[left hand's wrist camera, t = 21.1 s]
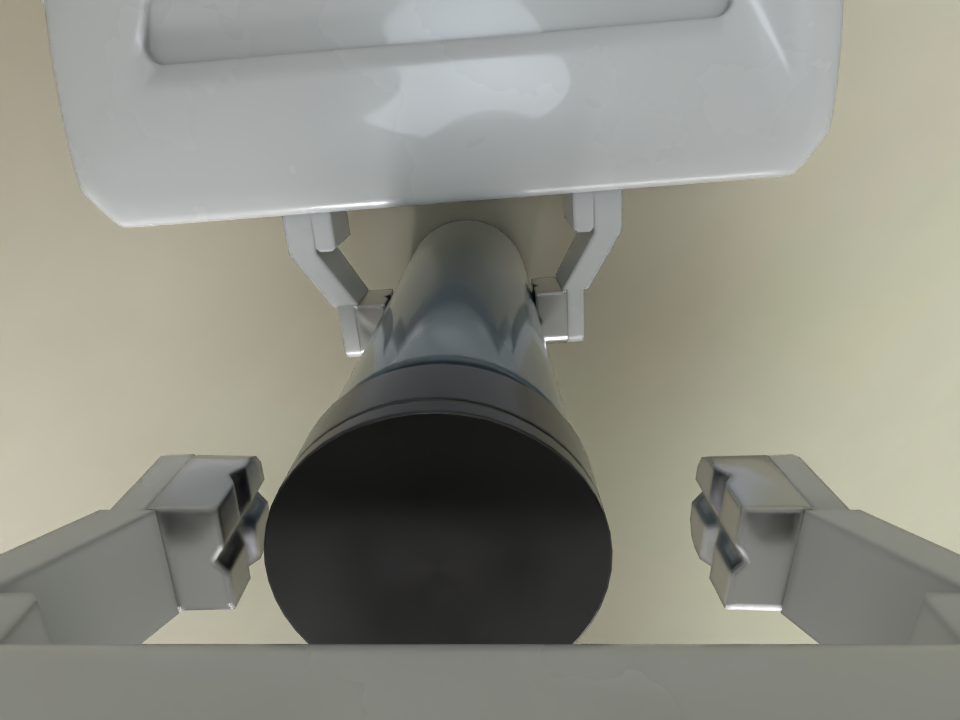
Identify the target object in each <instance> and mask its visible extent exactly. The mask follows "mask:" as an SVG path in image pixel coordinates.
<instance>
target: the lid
mask: <svg viewBox="0 0 960 720" xmlns="http://www.w3.org/2000/svg"><path fill="white" fill-rule="evenodd" d="M612 552H613V551H612V542H611V534H610V530H609V526H608V522H607V519H606V515H605V512H604V509H603V506H602V502H601V499H600V496H599V493H598V489H597V486H596V483H595V480H594V477H593V473H592V470H591V467H590V464H589V460H588V457H587V454H586V452H585V450H584V448H583V446H582V443H581V441H580V439H579V438H578V436H577V434H576V433H575V431H574V430H573V428H572V427H571V425H570V424H569V423H568V421H567V420H566V419H565V418H564V417H563V416H562V415H561V413H560V412H559V411H558V410H557V409H556V408H555V407H554V406H552V405H551V404H550V403H549V402H548V401H547V400H545V399H544V398H543V397H542V396H540V395H539V394H537V393H536V392H534V391H533V390H531V389H530V388H528V387H527V386H525V385H523V384H521V383H519V382H517V381H515V380H513V379H511V378H509V377H506V376H503V375H500V374H498V373H495V372H492V371H489V370H485V369H480V368H475V367H471V366H465V365H453V364H428V365H419V366H412V367H406V368H401V369H398V370H395V371H391V372H388V373H384V374H382V375H379V376H377V377H375V378H372V379H370V380H368V381H366V382H364V383H362V384H360V385H359V386H357V387H355V388H354V389H352V390H350V391H349V392H347V393H346V394H345V395H344V396H342V397H341V398H340V399H339V400H337V401H336V402H335V403H334V404H333V405H332V406H331V407H330V408H329V409H328V410H327V411H326V412H325V413H324V414H323V416H322V417H321V418H320V419H319V421H318V422H317V423H316V425H315V426H314V428H313V429H312V431H311V432H310V434H309V436H308V438H307V439H306V441H305V443H304V445H303V447H302V449H301V450H300V452H299V454H298V456H297V458H296V459H295V461H294V463H293V465H292V467H291V468H290V470H289V472H288V474H287V476H286V478H285V479H284V481H283V483H282V485H281V487H280V488H279V490H278V493H277V495H276V497H275V499H274V501H273V503H272V505H271V508H270V512H269V515H268V519H267V522H266V527H265V536H264V560H265V567H266V572H267V576H268V581H269V584H270V587H271V589H272V592H273V595H274V597H275V600H276V601H277V603H278V605H279V607H280V609H281V610H282V612H283V614H284V616H285V617H286V618H287V620H288V621H289V622H290V624H291V625H292V626H293V628H294V629H295V630H296V632H297V633H298V634H299V635H300V636H301V637H302V638H303V639H304V640H305V641H306V642H307V643H308V644H574V643H575V642H576V641H577V640H578V639H579V638H580V637H581V636H582V634H583V633H584V632H585V631H586V629H587V628H588V627H589V625H590V624H591V623H592V621H593V619H594V618H595V616H596V614H597V612H598V611H599V609H600V607H601V605H602V602H603V599H604V597H605V594H606V592H607V589H608V585H609V580H610V575H611V571H612Z"/></svg>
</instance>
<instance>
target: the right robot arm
mask: <svg viewBox="0 0 960 720" xmlns="http://www.w3.org/2000/svg"><path fill="white" fill-rule="evenodd" d="M41 1H42V3H43V5H44V7H45V15H46V23H47V30H48V38H49V46H50V53H51V59H52V66H53V72H54V78H55V84H56V89H57V94H58V100H59V105H60V110H61V115H62V120H63V125H64V129H65V134H66V139H67V143H68V147H69V151H70V155H71V160H72V164H73V168H74V171H75V174H76V177H77V180H78V183H79V186H80V188H81V190H82V192H83V193H84V195H85V196H86V197H87V198H88V199H89V200H90V201H91V202H92V203H93V204H94V205H96V206H97V207H98V208H99V209H100V210H101V211H102V212H103V213H104V214H105V215H106V216H108V217H109V218H110V219H111V220H112V221H113V222H115V223H116V224H117V225H119V226H121V227H127V228H130V227H145V226H158V225H170V224H183V223H196V222H209V221H222V220H235V219H247V218H260V217H273V216H282V218H283V224H284V229H285V234H286V239H287V244H288V250H289V255H290V256H291V257H292V259H293V260H294V261H295V262H296V263H297V265H298V266H299V267H300V268H301V269H302V271H303V272H304V273H305V274H306V275H307V276H308V278H309V279H310V280H311V281H312V282H313V284H314V285H315V286H316V287H317V288H318V290H319V291H320V292H321V293H322V294H323V296H324V297H325V298H326V299H327V300H328V301H329V303H330V304H331V305H332V306H333V307H337V308H338V314H339V319H340V325H341V331H342V337H343V343H344V348H345V352H346V354H347V356H348V357H361V355H362V353H363V351H364V349H365V347H366V345H367V343H368V341H369V339H370V337H371V335H372V333H373V331H374V330H375V328H376V326H377V324H378V322H379V320H380V318H381V316H382V314H383V312H384V310H385V308H386V306H387V304H388V302H389V301H390V299H391V297H392V295H393V289H387V290H368V288H367V287H366V285H365V284H364V283H363V281H362V280H361V279H360V277H359V276H358V274H357V273H356V272H355V270H354V269H353V268H352V266H351V265H350V264H349V262H348V261H347V259H346V258H345V257H344V255H343V254H342V253H341V251H340V250H339V248H338V246H339V245H340V244H341V243H342V242H343V241H344V240H345V239H346V238H347V237H348V236H349V235H350V230H349V223H348V216H347V211H350V210H363V209H375V208H388V207H401V206H414V205H427V204H440V203H452V202H465V201H478V200H491V199H504V198H516V197H529V196H542V195H555V194H564V213H565V219H566V220H567V221H568V223H569V224H570V225H571V226H572V228H573V229H574V230H575V231H577V234H576V236H575V238H574V240H573V242H572V244H571V246H570V248H569V250H568V252H567V254H566V256H565V258H564V260H563V262H562V263H561V265H560V267H559V269H558V271H557V273H556V277H546V278H536V279H531V289H532V296H533V299H534V303H535V306H536V310H537V313H538V317H539V321H540V324H541V328H542V331H543V335H544V338H545V342H546V344H547V343H564V342H577V341H583V339H584V289H588V287H589V286H590V284H591V282H592V281H593V279H594V277H595V275H596V274H597V272H598V270H599V269H600V267H601V265H602V263H603V262H604V260H605V258H606V257H607V255H608V253H609V252H610V250H611V248H612V246H613V245H614V243H615V241H616V240H617V238H618V236H619V234H620V233H621V231H622V189H632V188H645V187H657V186H670V185H683V184H696V183H709V182H721V181H734V180H747V179H760V178H772V177H784V176H789V175H792V174H794V173H795V172H796V171H798V170H799V168H800V167H801V166H802V165H803V164H804V163H805V162H806V161H807V160H808V158H809V157H810V156H811V154H812V153H813V152H814V151H815V149H816V148H817V147H818V145H819V144H820V143H821V142H822V140H823V139H824V138H825V136H826V135H827V132H828V130H829V128H830V124H831V120H832V117H833V112H834V105H835V99H836V91H837V83H838V74H839V63H840V53H841V39H842V25H843V3H844V0H41Z"/></svg>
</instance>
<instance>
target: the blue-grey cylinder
mask: <svg viewBox="0 0 960 720" xmlns="http://www.w3.org/2000/svg"><path fill="white" fill-rule="evenodd" d="M428 364H453V365H465V366H471V367H475V368H480V369H485V370H489V371H492V372H495V373H498V374H500V375H503V376H506V377H509V378H511V379H513V380H515V381H517V382H519V383H521V384H523V385H525V386H527V387H528V388H530V389H531V390H533V391H534V392H536V393H537V394H539V395H540V396H542V397H543V398H544V399H545V400H547V401H548V402H549V403H550V404H551V405H552V406H554V407H555V408H556V409H557V410H558V411H559V412H560V413H561V415H562V416H563V417H564V418H565V419H566V420H567V417H566V413H565V410H564V406H563V402H562V399H561V395H560V392H559V388H558V385H557V381H556V378H555V374H554V370H553V367H552V363H551V360H550V356H549V353H548V349H547V345H546V342H545V338H544V335H543V331H542V328H541V324H540V321H539V317H538V313H537V310H536V306H535V303H534V299H533V296H532V292H531V288H530V285H529V281H528V278H527V274H526V271H525V267H524V264H523V261H522V258H521V255H520V253H519V251H518V249H517V248H516V246H515V245H514V243H513V242H512V241H511V240H510V239H509V237H508V236H506V235H505V234H504V233H503V232H502V231H500V230H498V229H497V228H495V227H493V226H491V225H489V224H486V223H483V222H479V221H473V220H461V221H454V222H450V223H447V224H444V225H442V226H440V227H438V228H436V229H435V230H433V231H432V232H431V233H429V234H428V235H427V236H426V237H425V238H424V239H423V240H422V241H421V243H420V244H419V245H418V247H417V249H416V250H415V252H414V254H413V256H412V258H411V260H410V262H409V264H408V266H407V268H406V270H405V272H404V273H403V275H402V277H401V279H400V281H399V283H398V285H397V287H396V289H395V291H394V293H393V295H392V297H391V299H390V301H389V302H388V304H387V306H386V308H385V310H384V312H383V314H382V316H381V318H380V320H379V322H378V324H377V326H376V328H375V330H374V331H373V333H372V335H371V337H370V339H369V341H368V343H367V345H366V347H365V349H364V351H363V353H362V355H361V357H360V359H359V360H358V362H357V364H356V366H355V368H354V370H353V372H352V374H351V376H350V378H349V380H348V382H347V384H346V386H345V388H344V389H343V391H342V393H341V395H340V397H339V399H340V398H341V397H342V396H344V395H345V394H346V393H347V392H349V391H350V390H352V389H354V388H355V387H357V386H359V385H360V384H362V383H364V382H366V381H368V380H370V379H372V378H375V377H377V376H379V375H382V374H384V373H388V372H391V371H395V370H398V369H401V368H406V367H412V366H419V365H428ZM339 399H338V400H339ZM567 421H568V420H567Z"/></svg>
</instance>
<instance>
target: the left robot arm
mask: <svg viewBox="0 0 960 720" xmlns="http://www.w3.org/2000/svg"><path fill="white" fill-rule="evenodd" d="M263 481H264V475H263V470H262V464H261V461H260V460H259V459H258V458H257V457H256V456H225V455H194V454H191V455H166V456H161V457H160V458H159V459H158V460H157V461H156V462H155V463H154V464H153V465H152V466H151V467H150V468H149V469H148V471H147V472H146V473H145V474H144V475H143V476H142V477H141V478H140V479H139V480H138V481H137V482H136V483H135V484H134V485H133V486H132V487H131V488H130V489H129V490H128V492H127V493H126V494H125V495H124V496H123V497H122V498H121V499H120V500H119V501H118V502H117V503H116V504H115V505H114V506H113V507H112V508H111V509H110V510H99V511H96V512H94V513H92V514H90V515H88V516H85V517H83V518H81V519H79V520H76V521H74V522H72V523H70V524H67V525H65V526H63V527H61V528H59V529H56V530H54V531H52V532H50V533H47V534H45V535H43V536H41V537H38V538H36V539H34V540H32V541H29V542H27V543H25V544H23V545H21V546H18V547H16V548H14V549H12V550H9V551H7V552H5V553H3V554H0V720H960V555H959V554H957V553H955V552H953V551H950V550H948V549H946V548H944V547H941V546H939V545H937V544H935V543H933V542H930V541H928V540H926V539H924V538H921V537H919V536H917V535H915V534H913V533H910V532H908V531H906V530H904V529H901V528H899V527H897V526H895V525H892V524H890V523H888V522H886V521H884V520H881V519H879V518H877V517H875V516H872V515H870V514H868V513H866V512H864V511H861V510H850V509H849V508H848V507H847V506H846V505H845V504H844V503H843V502H842V501H841V500H840V499H839V498H838V497H837V496H836V495H835V494H834V493H833V491H832V490H831V489H830V488H829V487H828V486H827V485H826V484H825V483H824V482H823V481H822V480H821V479H820V478H819V477H818V476H817V475H816V474H815V472H814V471H813V470H812V469H811V468H810V467H809V466H808V465H807V464H806V463H805V462H804V461H803V460H802V459H801V458H800V457H798V456H796V455H793V454H786V455H753V456H713V457H702V458H701V460H700V462H699V465H698V468H697V474H696V481H697V483H698V484H699V486H700V488H701V489H702V492H701V493H700V495H699V496H698V497H697V498H696V499H695V500H694V501H693V502H692V508H691V516H690V524H691V536H692V540H693V544H694V547H695V549H696V552H697V554H698V556H699V558H700V559H701V560H703V561H704V562H706V563H707V564H709V565H710V566H711V572H710V580H711V582H712V584H713V586H714V588H715V590H716V592H717V594H718V596H719V598H720V600H721V602H722V604H723V606H724V608H725V609H744V610H781V613H782V614H783V615H784V616H785V617H787V618H788V619H789V620H790V621H792V622H793V623H794V624H795V625H797V626H798V627H799V628H800V629H801V630H803V631H804V632H805V633H806V634H808V635H809V636H810V637H811V638H813V639H814V640H815V641H816V642H818V643H819V644H141V643H143V642H144V641H145V640H146V639H148V638H149V637H150V636H151V635H153V634H154V633H155V632H156V631H157V630H159V629H160V628H161V627H162V626H164V625H165V624H166V623H167V622H169V621H170V620H171V619H172V618H174V617H175V616H176V615H177V614H179V610H215V609H235V608H236V606H237V604H238V602H239V600H240V598H241V596H242V594H243V592H244V590H245V588H246V586H247V584H248V582H249V580H250V572H249V566H250V565H251V564H253V563H254V562H256V561H257V560H259V559H260V558H261V556H262V554H263V552H264V536H265V527H266V522H267V519H268V515H269V507H268V502H267V501H266V500H265V499H264V498H263V497H262V496H261V495H260V493H259V492H258V489H259V488H260V486H261V484H262V483H263Z"/></svg>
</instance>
